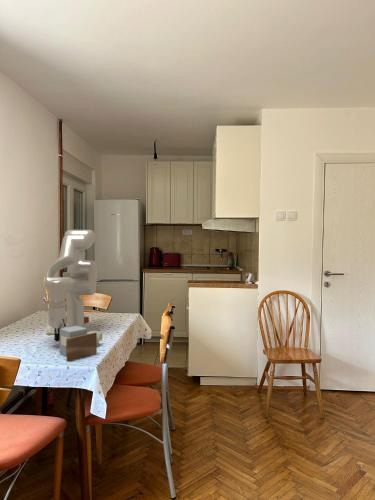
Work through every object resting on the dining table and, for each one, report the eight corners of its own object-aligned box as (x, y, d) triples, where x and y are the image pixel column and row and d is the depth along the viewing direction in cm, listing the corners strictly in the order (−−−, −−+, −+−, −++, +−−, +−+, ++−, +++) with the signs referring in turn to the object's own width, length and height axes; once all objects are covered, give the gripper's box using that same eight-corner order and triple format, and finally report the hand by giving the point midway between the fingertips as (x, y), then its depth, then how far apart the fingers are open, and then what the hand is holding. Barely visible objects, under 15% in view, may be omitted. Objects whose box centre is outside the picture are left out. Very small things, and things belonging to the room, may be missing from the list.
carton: (68, 320, 246) (68, 314, 246) (89, 322, 241) (89, 316, 241) (60, 323, 238) (60, 316, 238) (81, 325, 233) (81, 318, 233)
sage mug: (84, 346, 185) (84, 332, 185) (98, 342, 192) (98, 329, 191) (91, 348, 181) (91, 334, 181) (105, 344, 188) (105, 331, 187)
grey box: (59, 354, 172) (59, 329, 171) (76, 350, 179) (76, 325, 178) (69, 358, 166) (69, 332, 165) (87, 353, 173) (87, 328, 172)
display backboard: (66, 360, 162) (65, 338, 162) (94, 353, 173) (94, 332, 173) (67, 361, 161) (67, 339, 161) (96, 353, 172) (96, 332, 172)
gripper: (42, 303, 184) (43, 339, 185) (58, 307, 174) (58, 345, 175) (56, 301, 190) (57, 335, 191) (72, 305, 180) (72, 341, 181)
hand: (58, 340), depth 183 cm, fingers closed
